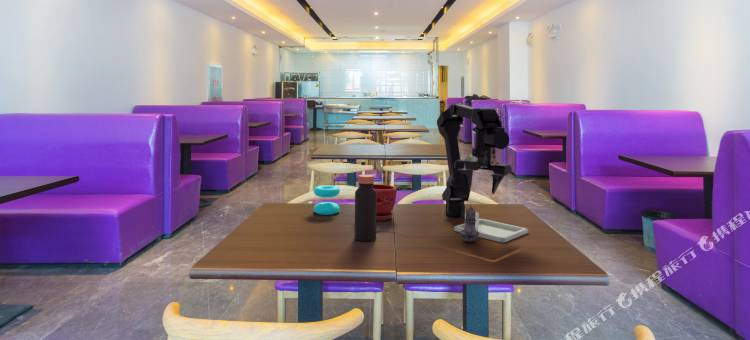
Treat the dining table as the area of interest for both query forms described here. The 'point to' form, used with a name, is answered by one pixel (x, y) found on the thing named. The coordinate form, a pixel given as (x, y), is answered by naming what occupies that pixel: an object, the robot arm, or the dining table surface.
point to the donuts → (326, 207)
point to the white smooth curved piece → (476, 220)
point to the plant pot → (385, 201)
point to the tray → (496, 230)
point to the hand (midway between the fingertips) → (480, 191)
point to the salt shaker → (470, 226)
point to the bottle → (365, 209)
